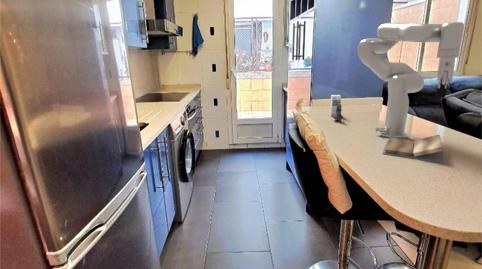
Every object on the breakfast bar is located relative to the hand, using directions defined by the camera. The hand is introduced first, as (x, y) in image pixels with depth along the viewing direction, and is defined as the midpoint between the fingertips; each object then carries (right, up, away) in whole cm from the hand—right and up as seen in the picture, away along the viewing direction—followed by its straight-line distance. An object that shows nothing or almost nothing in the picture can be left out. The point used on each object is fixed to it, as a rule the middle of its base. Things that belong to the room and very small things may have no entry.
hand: (440, 97), depth 123 cm
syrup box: (-22, -4, +72) cm, 75 cm away
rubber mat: (-11, -24, +2) cm, 26 cm away
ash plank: (-6, -22, -1) cm, 22 cm away
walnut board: (-15, -23, +5) cm, 28 cm away
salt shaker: (-25, -8, +57) cm, 63 cm away
